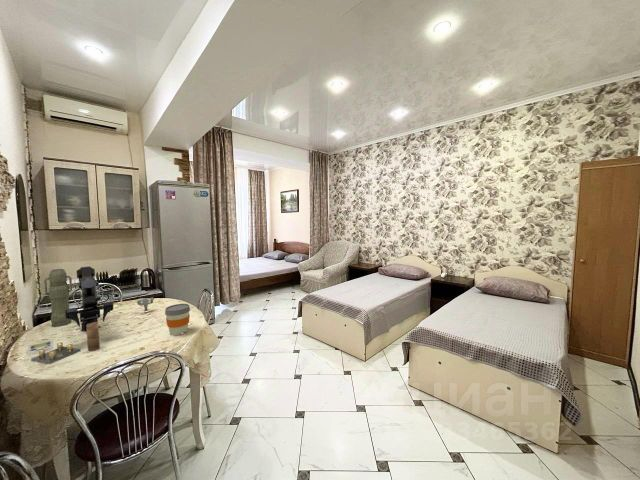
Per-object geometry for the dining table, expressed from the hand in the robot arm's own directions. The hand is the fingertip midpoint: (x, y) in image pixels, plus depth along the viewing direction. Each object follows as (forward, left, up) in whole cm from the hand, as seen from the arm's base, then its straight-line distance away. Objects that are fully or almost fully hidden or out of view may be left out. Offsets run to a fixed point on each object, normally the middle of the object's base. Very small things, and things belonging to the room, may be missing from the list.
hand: (91, 323), depth 130 cm
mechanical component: (-45, -17, -12) cm, 50 cm away
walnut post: (+3, +4, -12) cm, 13 cm away
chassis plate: (+12, -6, -12) cm, 18 cm away
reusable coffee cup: (-23, +31, -12) cm, 41 cm away
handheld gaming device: (+8, -25, -12) cm, 28 cm away
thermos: (-17, -52, -12) cm, 56 cm away
